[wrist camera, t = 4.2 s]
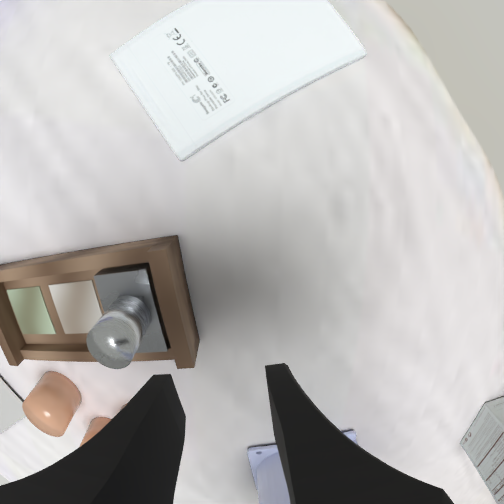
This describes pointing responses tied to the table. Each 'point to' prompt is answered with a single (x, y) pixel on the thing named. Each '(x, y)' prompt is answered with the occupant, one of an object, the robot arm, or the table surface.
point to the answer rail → (89, 302)
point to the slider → (127, 316)
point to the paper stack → (9, 407)
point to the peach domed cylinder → (52, 403)
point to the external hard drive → (230, 63)
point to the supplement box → (488, 446)
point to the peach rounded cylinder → (95, 428)
